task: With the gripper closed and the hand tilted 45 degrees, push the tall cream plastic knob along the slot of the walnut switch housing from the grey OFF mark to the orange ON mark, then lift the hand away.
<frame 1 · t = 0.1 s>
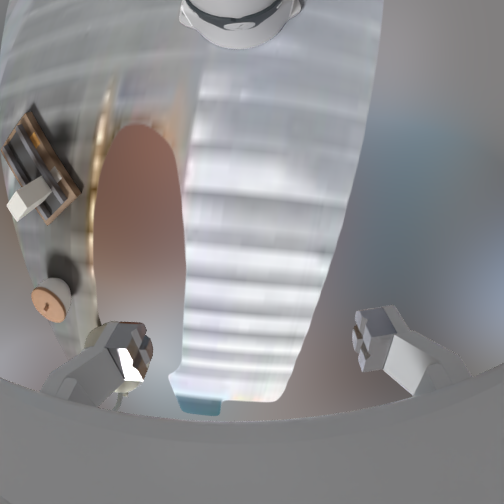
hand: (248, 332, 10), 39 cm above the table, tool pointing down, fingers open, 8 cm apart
switch knob: (30, 197, 40), point 7 cm above the table, slide at 0.0 cm
lidded jar: (61, 286, 60), on the table
kettle: (124, 342, 70), on the table
switch housing: (39, 168, 44), on the table
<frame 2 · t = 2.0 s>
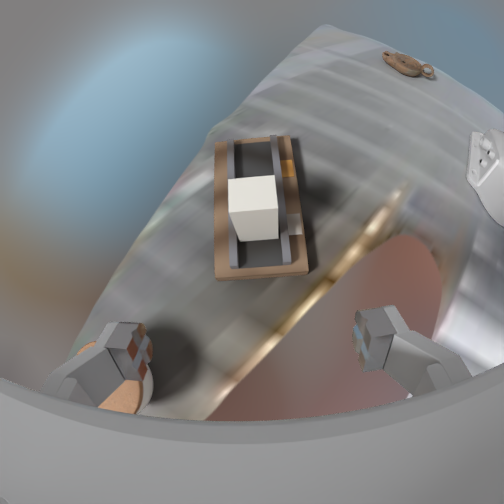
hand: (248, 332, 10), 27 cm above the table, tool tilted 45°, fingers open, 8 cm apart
switch knob: (255, 211, 33), point 7 cm above the table, slide at 0.0 cm
lidded jar: (132, 378, 35), on the table
oil lamp: (405, 71, 50), on the table
switch housing: (257, 204, 41), on the table
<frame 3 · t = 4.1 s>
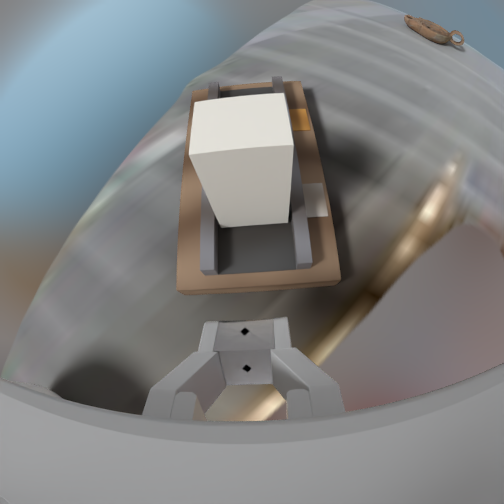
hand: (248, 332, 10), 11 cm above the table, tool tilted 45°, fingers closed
switch knob: (247, 168, 18), point 7 cm above the table, slide at 0.0 cm
oil lamp: (431, 38, 35), on the table
switch housing: (252, 171, 25), on the table
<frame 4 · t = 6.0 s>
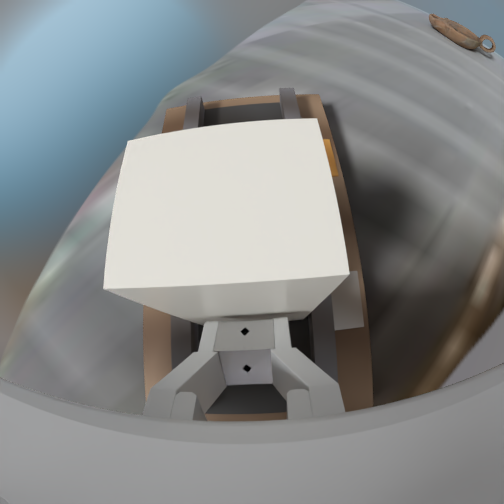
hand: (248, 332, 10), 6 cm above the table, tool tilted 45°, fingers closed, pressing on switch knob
switch knob: (239, 256, 10), point 7 cm above the table, slide at 1.2 cm, touching gripper
oil lamp: (458, 43, 27), on the table
switch housing: (250, 239, 18), on the table
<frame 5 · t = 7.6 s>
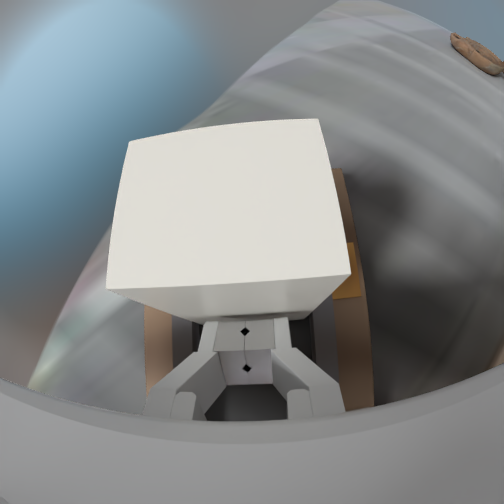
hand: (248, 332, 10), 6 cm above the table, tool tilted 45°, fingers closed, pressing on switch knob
switch knob: (241, 256, 10), point 7 cm above the table, slide at 8.6 cm, touching gripper
oil lamp: (480, 66, 25), on the table
switch housing: (258, 362, 15), on the table
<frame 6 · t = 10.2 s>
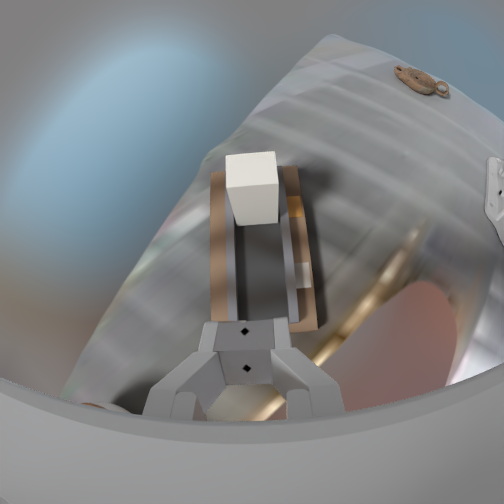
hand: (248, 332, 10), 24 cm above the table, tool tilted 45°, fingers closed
switch knob: (254, 191, 31), point 7 cm above the table, slide at 8.7 cm
oil lamp: (418, 88, 46), on the table
switch housing: (259, 248, 36), on the table
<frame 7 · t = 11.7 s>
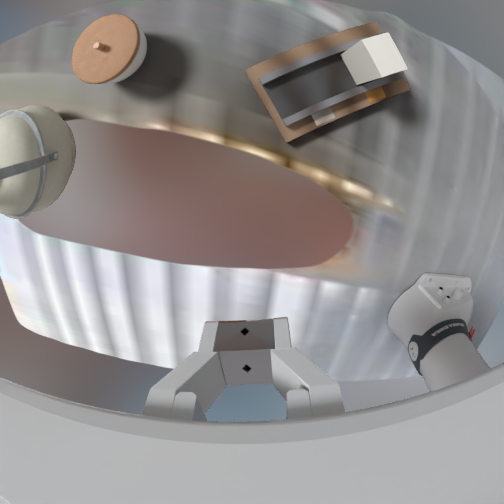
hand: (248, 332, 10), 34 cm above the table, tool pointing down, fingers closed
switch knob: (371, 60, 27), point 7 cm above the table, slide at 8.7 cm
lidded jar: (126, 56, 33), on the table
kettle: (43, 153, 39), on the table
switch housing: (331, 77, 34), on the table
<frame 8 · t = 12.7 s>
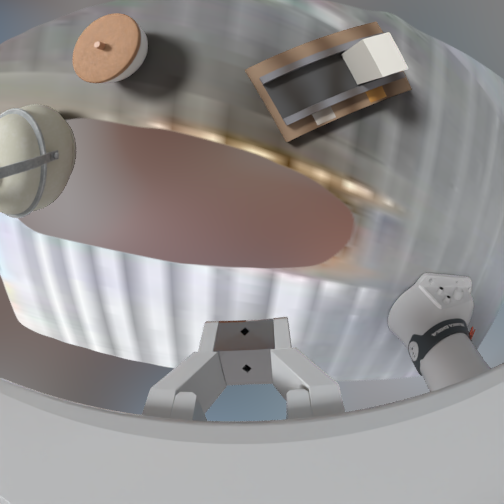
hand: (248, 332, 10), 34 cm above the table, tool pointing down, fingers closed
switch knob: (372, 60, 27), point 7 cm above the table, slide at 8.7 cm
lidded jar: (126, 55, 33), on the table
kettle: (44, 153, 39), on the table
switch housing: (332, 76, 34), on the table
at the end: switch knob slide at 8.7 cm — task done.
